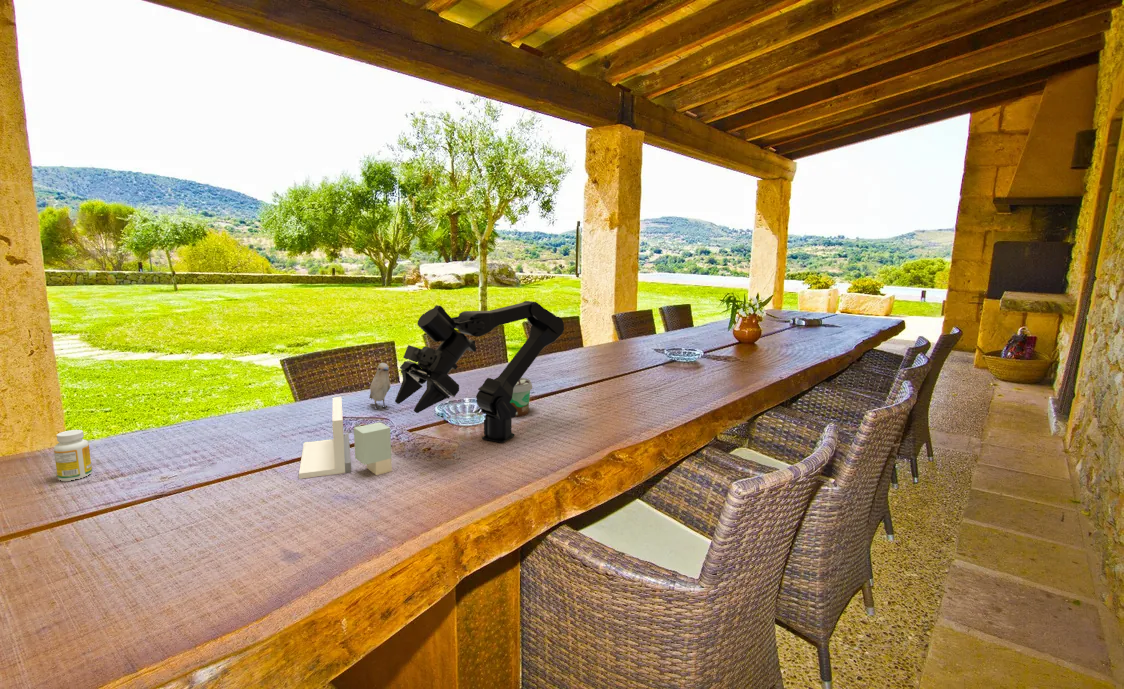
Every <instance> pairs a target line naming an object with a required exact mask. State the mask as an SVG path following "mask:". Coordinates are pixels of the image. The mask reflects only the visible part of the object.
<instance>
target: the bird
mask: <svg viewBox="0 0 1124 689" xmlns="http://www.w3.org/2000/svg"><path fill="white" fill-rule="evenodd" d="M389 372H390V366H389V365H388V364H387V363H385V362H381V363H379V364H378V365H377V369H376V372H375V375H374V376H373V379H372V381H371V382H370V383H371V384H370V386H369V388H370V390H369V391H370V393H369V399H371V400H374V403H375V407H376V408H378V407H377V402H382V403H383V406H384V407H385V399H386V396H387V393H388V392H389V390H391V389H390V388H391V381H390V377H389ZM386 408H388V406H386Z"/></svg>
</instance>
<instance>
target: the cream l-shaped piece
mask: <svg viewBox="0 0 1124 689" xmlns="http://www.w3.org/2000/svg"><path fill="white" fill-rule="evenodd" d="M342 405H343V400H342V396H335V397H332V414H331V415H332V417H331V419H332V421H331V423H332V436H333V438H332V439H323V440H322V439H321V440H316V441H305V442H303V446H302V451H301V452H302V453H301V460H300V464H299V471H298V479H299V480H302V479H309V478H316V477H324V476H325V477H326V476H332V475H340V474H347V473H352V462H351V448H350V435H349V433H345V434H344V420H343V406H342Z"/></svg>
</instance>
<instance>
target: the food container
mask: <svg viewBox="0 0 1124 689" xmlns="http://www.w3.org/2000/svg"><path fill="white" fill-rule="evenodd" d="M531 390H533V384H532V381H531V379H529V378H527V377H521V378H520V380H519V381H518V382H517V384H516V385H515V386H514V388H513V395H512V399H511V401H510V403H511V404H512V405H513V406H514V407H515V408H516V409H517V412H516V415H515V417H514V418H521V417H525V416H527V415H528V414H529V408H530V397H531V395H530V394H531Z"/></svg>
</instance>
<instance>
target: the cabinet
mask: <svg viewBox="0 0 1124 689" xmlns="http://www.w3.org/2000/svg"><path fill="white" fill-rule="evenodd" d="M391 437H392V436H391V427H390V426H388V425H386V424H384V423H383V422H381V421H380V422H376V423H375V422H374V423H369V424H365V425H361V426H355V427H353V439H354V458H355V460H357V461H359V463H361V464H363V465H364V466H366V469H367V470H369V471H370V472H371V473H373V474H374V475H375V476H378V475H379V476H380V475H383V474H386V473H390V472H393V468H392V467H393V464H392V445H391V444H392V441H391V440H392V438H391Z"/></svg>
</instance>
